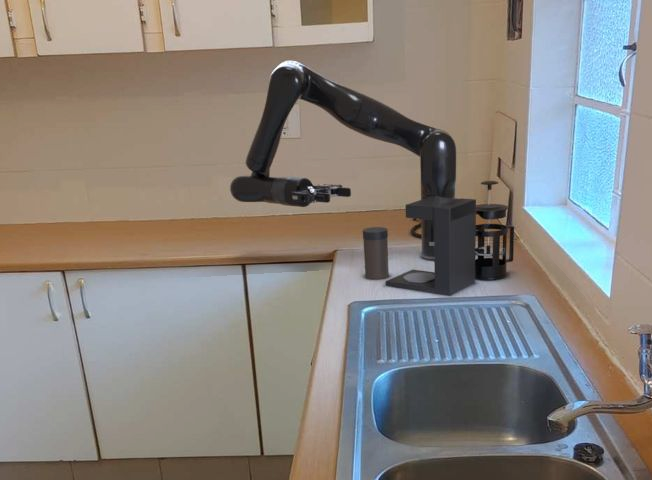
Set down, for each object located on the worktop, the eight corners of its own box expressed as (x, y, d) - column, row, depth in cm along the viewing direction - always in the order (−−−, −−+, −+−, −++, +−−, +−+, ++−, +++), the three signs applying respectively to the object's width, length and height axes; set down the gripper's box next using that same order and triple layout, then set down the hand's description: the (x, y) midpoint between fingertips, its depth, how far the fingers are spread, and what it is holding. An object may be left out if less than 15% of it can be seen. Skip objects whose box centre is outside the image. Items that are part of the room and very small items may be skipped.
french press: (475, 282, 182) (476, 186, 173) (460, 273, 190) (460, 180, 181) (520, 276, 184) (523, 181, 175) (503, 267, 193) (505, 176, 184)
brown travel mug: (370, 272, 196) (368, 226, 192) (392, 273, 194) (390, 227, 189) (361, 278, 191) (358, 232, 186) (384, 280, 189) (382, 232, 184)
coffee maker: (385, 285, 184) (382, 203, 176) (412, 273, 193) (411, 194, 185) (449, 295, 173) (449, 208, 166) (475, 282, 182) (476, 199, 174)
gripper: (272, 181, 194) (320, 184, 185) (308, 173, 204) (356, 176, 195) (275, 210, 197) (322, 215, 188) (310, 201, 207) (357, 205, 198)
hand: (339, 195), depth 191 cm, fingers open, 8 cm apart
